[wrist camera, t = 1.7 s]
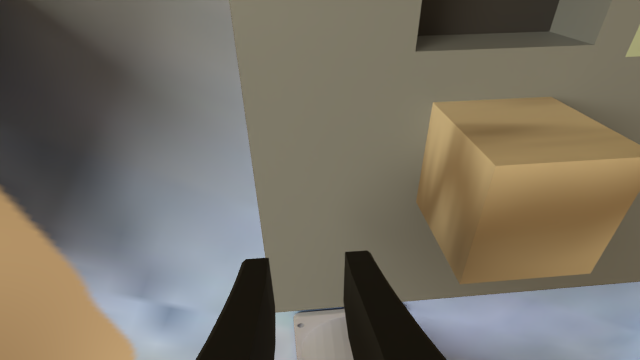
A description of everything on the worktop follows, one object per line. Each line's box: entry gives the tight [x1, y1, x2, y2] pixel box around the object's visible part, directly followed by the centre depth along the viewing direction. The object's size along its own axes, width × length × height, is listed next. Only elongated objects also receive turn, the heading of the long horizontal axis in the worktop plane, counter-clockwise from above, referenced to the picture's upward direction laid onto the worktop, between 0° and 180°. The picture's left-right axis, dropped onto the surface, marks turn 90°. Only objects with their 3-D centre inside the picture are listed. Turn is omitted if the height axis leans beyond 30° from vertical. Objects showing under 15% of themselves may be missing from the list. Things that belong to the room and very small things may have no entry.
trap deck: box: [229, 0, 640, 312], centre depth 16 cm, size 23×32×3 cm
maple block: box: [416, 97, 640, 284], centre depth 14 cm, size 5×5×5 cm
